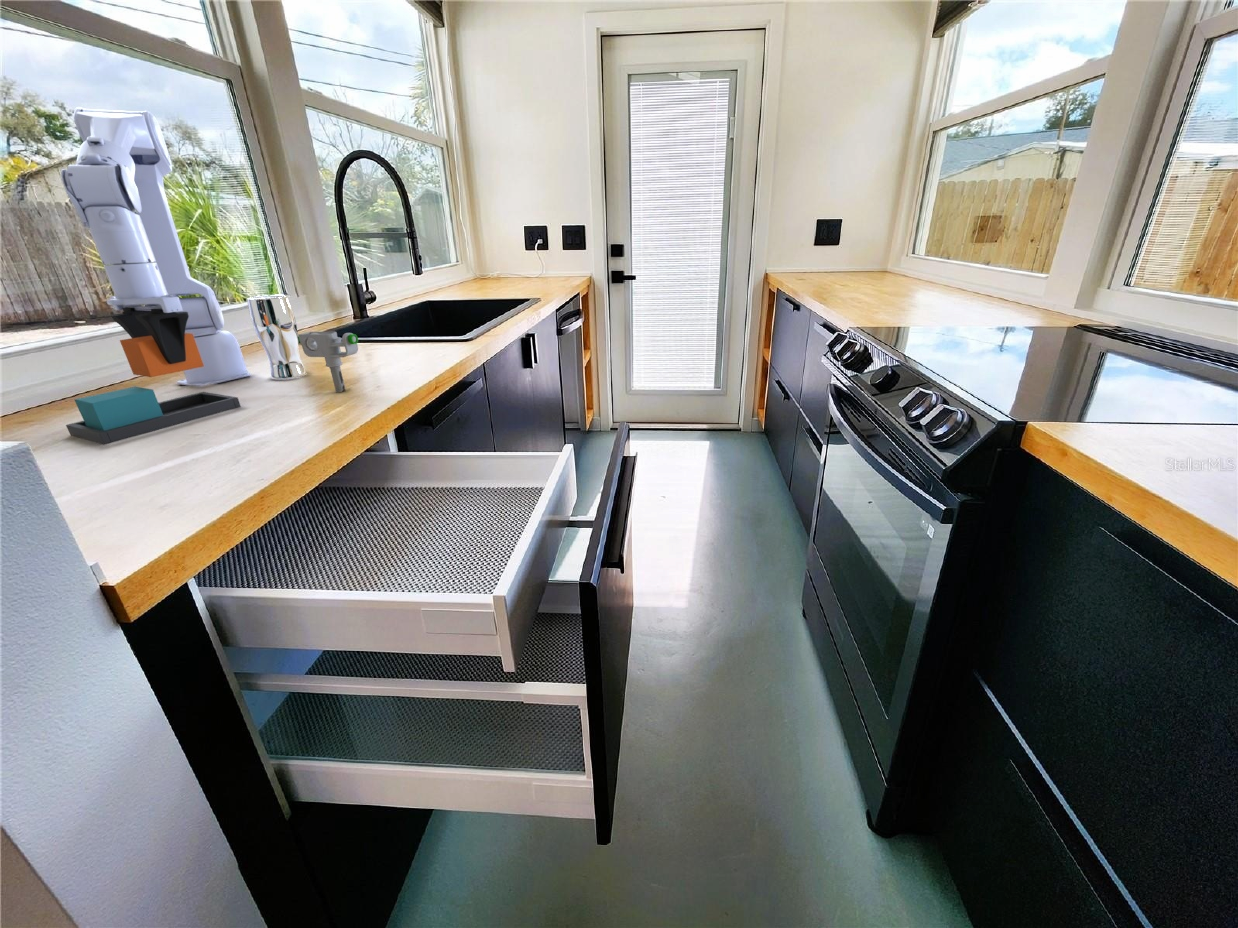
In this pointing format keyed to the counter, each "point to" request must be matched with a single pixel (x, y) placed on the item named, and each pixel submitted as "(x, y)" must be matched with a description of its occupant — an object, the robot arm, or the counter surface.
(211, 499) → the counter surface
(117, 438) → the tray
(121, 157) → the robot arm
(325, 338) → the mechanical component
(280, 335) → the beer glass
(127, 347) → the orange block
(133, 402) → the teal rectangular block
